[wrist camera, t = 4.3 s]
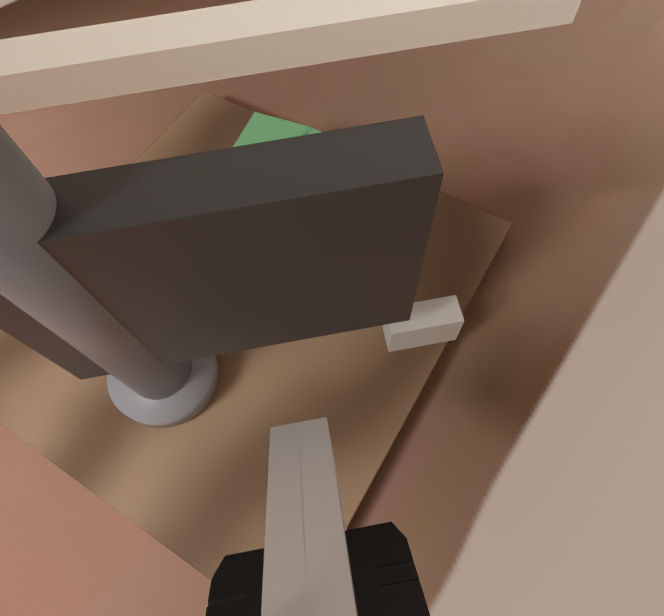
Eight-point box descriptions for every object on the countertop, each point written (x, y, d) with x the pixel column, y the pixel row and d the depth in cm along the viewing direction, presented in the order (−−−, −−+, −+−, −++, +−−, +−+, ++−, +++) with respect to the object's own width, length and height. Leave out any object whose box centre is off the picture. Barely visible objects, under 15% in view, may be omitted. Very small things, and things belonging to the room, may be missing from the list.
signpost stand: (116, 437, 21) (-345, 213, 7) (117, 338, 23) (-245, 14, 9) (456, 374, 21) (635, 53, 8) (428, 283, 23) (532, -103, 10)
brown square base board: (-49, 381, 24) (-69, 372, 23) (209, 106, 31) (204, 90, 30) (291, 631, 19) (286, 636, 18) (505, 236, 26) (512, 222, 25)
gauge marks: (216, 186, 26) (200, 145, 24) (297, 134, 28) (291, 89, 25) (403, 384, 21) (410, 360, 19) (491, 308, 23) (510, 275, 20)
